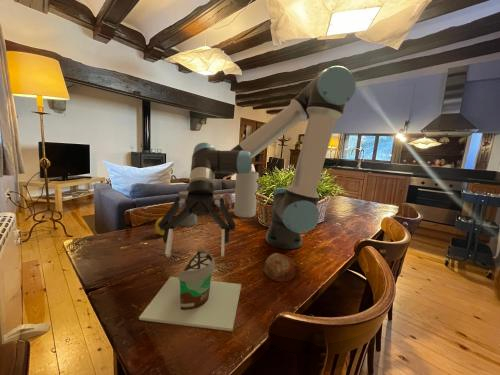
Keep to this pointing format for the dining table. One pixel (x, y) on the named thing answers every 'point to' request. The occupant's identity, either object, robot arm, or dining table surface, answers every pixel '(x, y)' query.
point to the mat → (206, 316)
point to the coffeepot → (190, 219)
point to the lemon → (158, 227)
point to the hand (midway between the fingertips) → (195, 255)
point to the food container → (196, 280)
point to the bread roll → (280, 267)
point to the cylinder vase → (246, 194)
